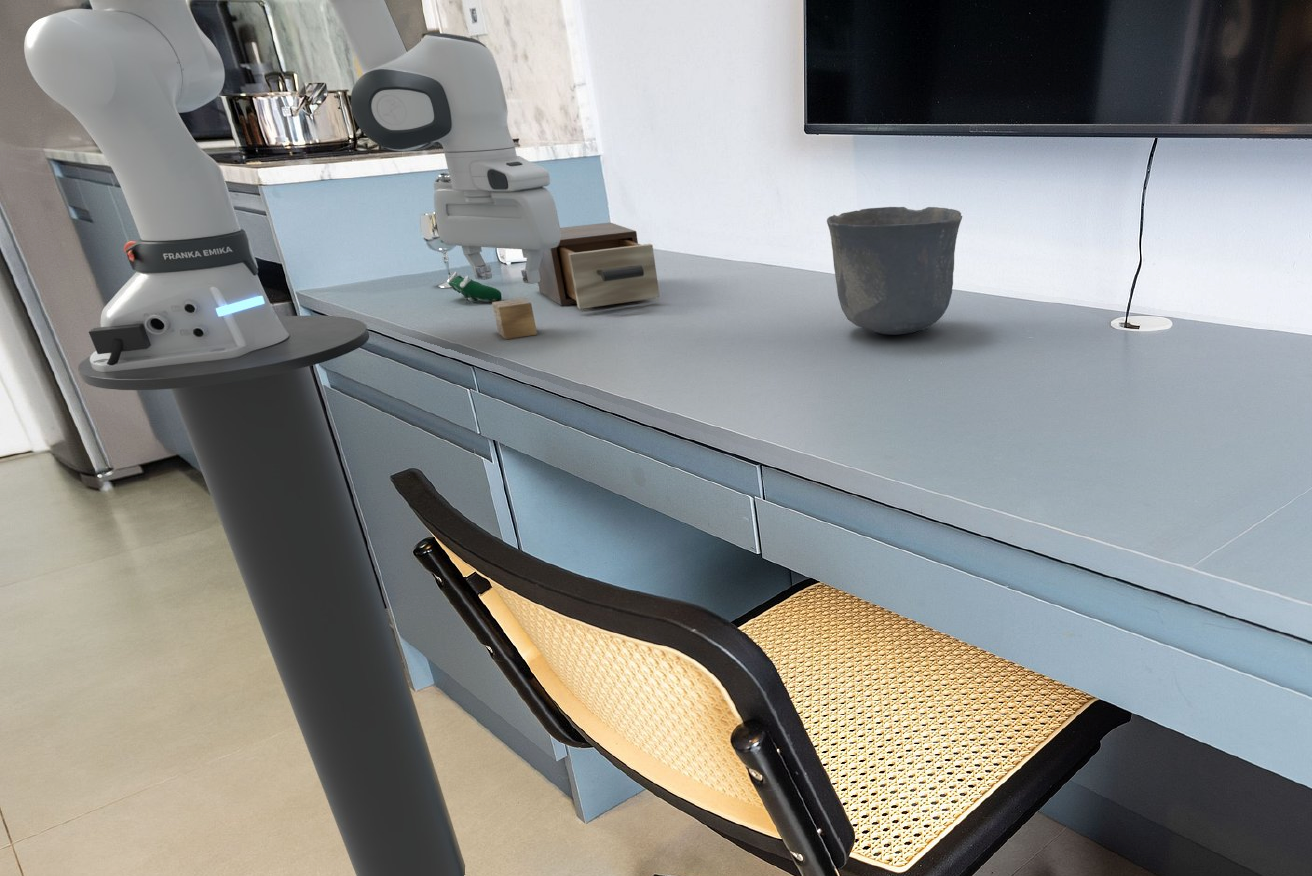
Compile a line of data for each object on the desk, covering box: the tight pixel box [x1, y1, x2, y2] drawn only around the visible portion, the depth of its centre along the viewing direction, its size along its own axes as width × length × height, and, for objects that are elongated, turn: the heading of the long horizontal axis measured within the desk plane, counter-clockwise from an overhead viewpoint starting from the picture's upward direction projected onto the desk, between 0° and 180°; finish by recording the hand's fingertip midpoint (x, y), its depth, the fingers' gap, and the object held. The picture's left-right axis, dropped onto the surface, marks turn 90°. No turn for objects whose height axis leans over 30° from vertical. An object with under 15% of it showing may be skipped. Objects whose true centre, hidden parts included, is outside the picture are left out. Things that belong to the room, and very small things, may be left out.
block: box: [491, 297, 538, 340], centre depth 140 cm, size 4×4×4 cm
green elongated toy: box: [448, 271, 503, 303], centre depth 163 cm, size 9×4×6 cm
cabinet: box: [537, 221, 639, 307], centre depth 163 cm, size 14×14×10 cm
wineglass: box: [419, 211, 457, 289], centre depth 174 cm, size 6×6×12 cm
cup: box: [826, 206, 963, 336], centre depth 129 cm, size 18×18×15 cm
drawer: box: [556, 239, 661, 310], centre depth 154 cm, size 17×13×8 cm
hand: (508, 280), depth 138 cm, fingers open, 8 cm apart
